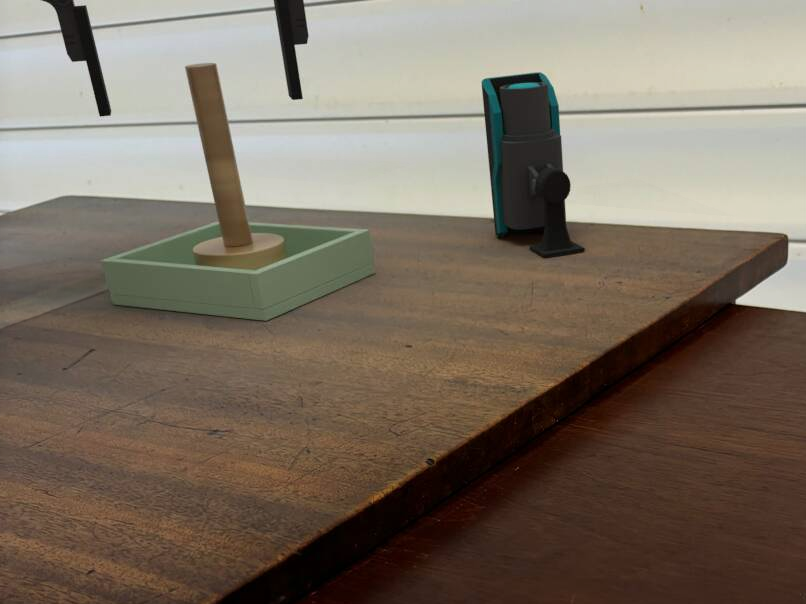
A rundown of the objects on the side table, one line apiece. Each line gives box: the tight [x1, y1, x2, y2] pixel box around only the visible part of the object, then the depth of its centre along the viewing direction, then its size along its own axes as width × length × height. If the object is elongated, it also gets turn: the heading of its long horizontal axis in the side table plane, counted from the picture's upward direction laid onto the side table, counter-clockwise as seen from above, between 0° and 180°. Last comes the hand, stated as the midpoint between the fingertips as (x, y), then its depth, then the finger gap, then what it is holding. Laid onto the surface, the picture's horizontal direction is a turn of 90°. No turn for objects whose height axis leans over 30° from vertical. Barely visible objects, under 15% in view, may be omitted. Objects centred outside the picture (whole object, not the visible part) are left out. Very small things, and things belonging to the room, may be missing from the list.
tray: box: [100, 220, 376, 322], centre depth 92 cm, size 16×14×3 cm
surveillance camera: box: [481, 71, 586, 259], centre depth 96 cm, size 6×12×10 cm
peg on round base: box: [184, 62, 288, 270], centre depth 88 cm, size 7×7×15 cm
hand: (202, 106), depth 85 cm, fingers open, 13 cm apart
